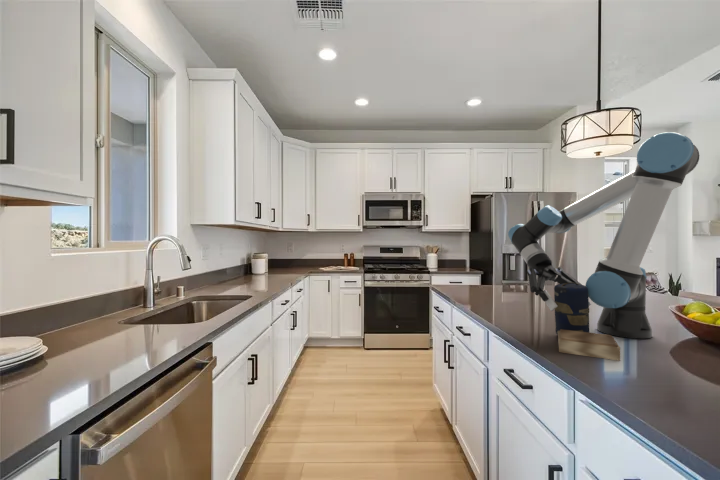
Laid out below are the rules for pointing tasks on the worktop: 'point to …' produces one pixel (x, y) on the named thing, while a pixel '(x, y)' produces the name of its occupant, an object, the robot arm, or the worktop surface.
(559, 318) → the canister
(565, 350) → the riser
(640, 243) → the robot arm
